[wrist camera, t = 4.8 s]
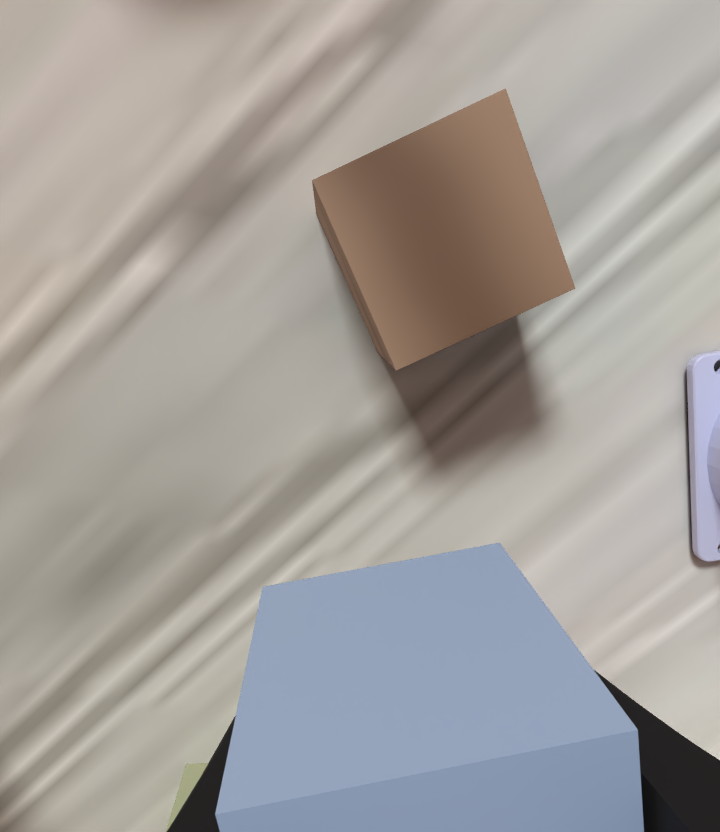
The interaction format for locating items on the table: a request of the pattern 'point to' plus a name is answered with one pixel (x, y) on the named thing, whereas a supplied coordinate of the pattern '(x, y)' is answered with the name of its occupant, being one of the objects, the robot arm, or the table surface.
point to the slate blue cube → (424, 709)
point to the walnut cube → (443, 232)
